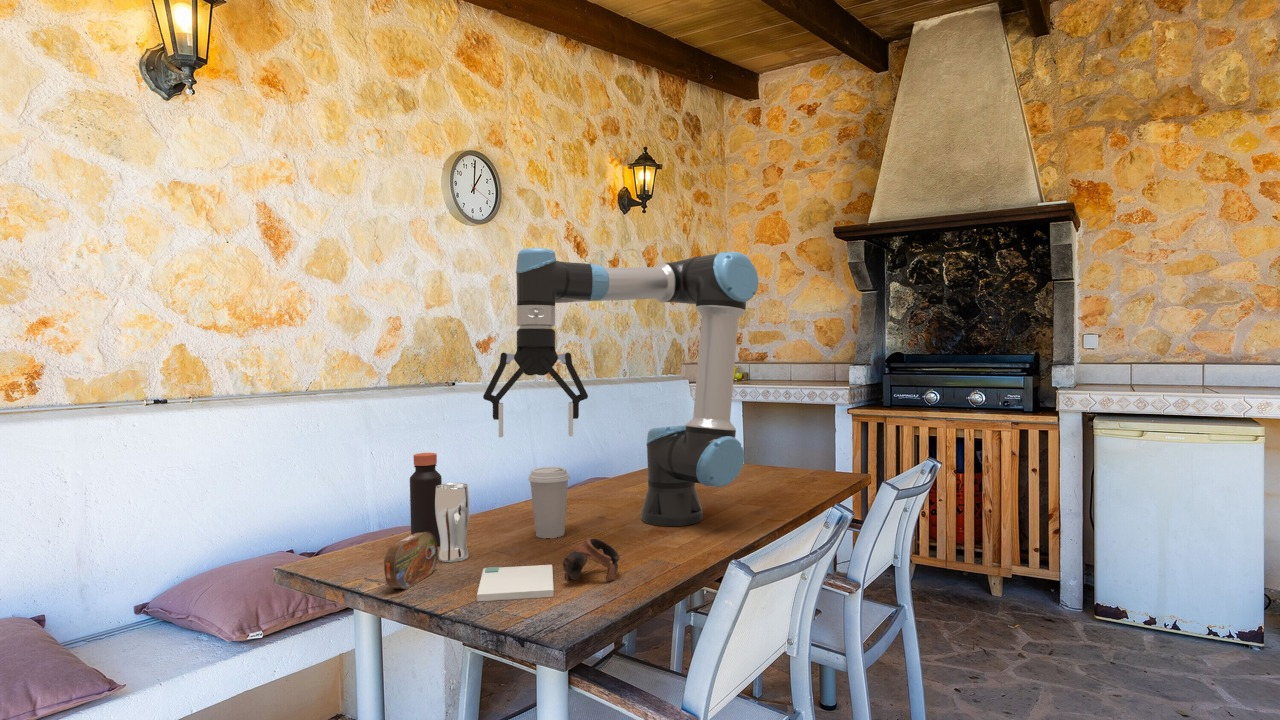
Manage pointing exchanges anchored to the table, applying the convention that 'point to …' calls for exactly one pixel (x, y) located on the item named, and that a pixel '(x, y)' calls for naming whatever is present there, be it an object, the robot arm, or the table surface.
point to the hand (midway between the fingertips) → (536, 436)
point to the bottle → (424, 494)
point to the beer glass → (452, 520)
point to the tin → (410, 560)
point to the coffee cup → (549, 500)
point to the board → (516, 583)
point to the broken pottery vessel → (591, 547)
